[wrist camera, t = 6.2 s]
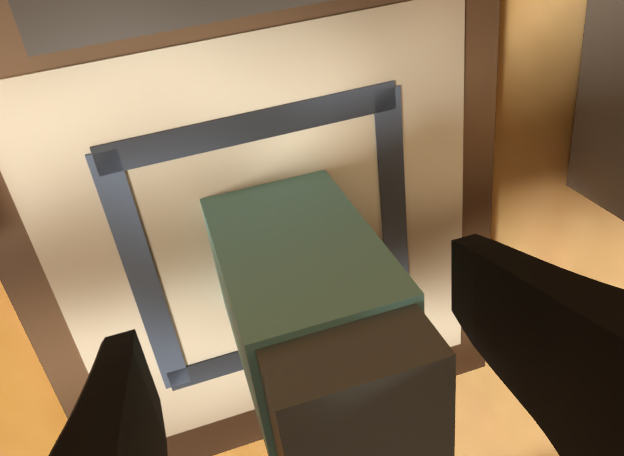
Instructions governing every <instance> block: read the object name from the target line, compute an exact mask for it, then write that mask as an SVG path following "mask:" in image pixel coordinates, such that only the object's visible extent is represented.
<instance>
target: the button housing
mask: <svg viewBox="0 0 624 456" xmlns="http://www.w3.org/2000/svg"><path fill="white" fill-rule="evenodd" d="M567 186H569V187H570V188H572V189H574V190H575V191H577V192H578V193H580V194H582V195H583V196H585V197H586V198H588V199H590V200H591V201H593V202H594V203H596V204H598V205H599V206H601V207H602V208H604V209H606V210H607V211H609V212H610V213H612V214H614V215H615V216H617V217H618V218H620V219H622V220H623V221H624V0H588V1H587V10H586V19H585V28H584V36H583V45H582V54H581V63H580V71H579V80H578V89H577V97H576V106H575V115H574V124H573V132H572V141H571V150H570V159H569V167H568V176H567Z"/></svg>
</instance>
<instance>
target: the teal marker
mask: <svg viewBox="0 0 624 456" xmlns="http://www.w3.org/2000/svg"><path fill="white" fill-rule="evenodd" d="M200 204H201V208H202V212H203V216H204V220H205V225H206V229H207V233H208V237H209V241H210V246H211V250H212V254H213V258H214V262H215V266H216V271H217V275H218V279H219V283H220V287H221V292H222V296H223V300H224V304H225V307H226V311H227V314H228V318H229V321H230V325H231V328H232V332H233V335H234V339H235V342H236V345H237V349H238V352H239V356H240V359H241V363H242V366H243V370H244V373H245V377H246V380H247V383H248V387H249V390H250V394H251V397H252V401H253V404H254V408H255V411H256V415H257V418H258V421H259V425H260V428H261V432H262V435H263V439H264V442H265V446H266V449H267V453H268V456H454V446H455V391H456V354H455V353H454V351H453V350H452V349H451V347H450V346H449V345H448V344H447V342H446V341H445V340H444V338H443V337H442V336H441V334H440V333H439V332H438V330H437V329H436V328H435V326H434V325H433V324H432V323H431V321H430V320H429V319H428V317H427V316H426V315H425V308H424V293H423V292H422V290H421V289H420V288H419V287H418V285H417V284H416V283H415V282H414V280H413V279H412V278H411V277H410V275H409V274H408V273H407V272H406V270H405V269H404V268H403V267H402V265H401V264H400V263H399V262H398V260H397V259H396V258H395V257H394V255H393V254H392V253H391V252H390V250H389V249H388V248H387V247H386V245H385V244H384V243H383V242H382V240H381V239H380V238H379V237H378V235H377V234H376V233H375V232H374V230H373V229H372V228H371V227H370V225H369V224H368V223H367V222H366V220H365V219H364V218H363V217H362V215H361V214H360V213H359V212H358V210H357V209H356V208H355V207H354V205H353V204H352V203H351V202H350V200H349V199H348V198H347V197H346V195H345V194H344V193H343V192H342V190H341V189H340V188H339V187H338V185H337V184H336V183H335V182H334V180H333V179H332V178H331V177H330V175H329V174H328V173H327V172H326V170H321V171H316V172H312V173H308V174H304V175H299V176H295V177H291V178H287V179H282V180H278V181H274V182H270V183H265V184H261V185H257V186H253V187H248V188H244V189H240V190H236V191H231V192H227V193H223V194H219V195H214V196H210V197H206V198H202V199H200Z"/></svg>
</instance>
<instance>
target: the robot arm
mask: <svg viewBox="0 0 624 456" xmlns="http://www.w3.org/2000/svg"><path fill="white" fill-rule="evenodd" d="M451 311H452V312H453V314H454V316H455V317H456V319H457V321H458V322H459V324H460V326H461V327H462V329H463V331H464V332H465V334H466V335H467V337H468V338H469V340H470V342H471V343H472V345H473V346H474V347H475V349H476V350H477V351H478V352H479V354H480V355H481V356H482V357H483V358H484V360H485V361H486V362H487V363H488V365H489V366H490V367H491V368H492V369H493V371H494V372H495V373H496V374H497V375H498V377H499V378H500V379H501V380H502V381H503V383H504V384H505V385H506V386H507V387H508V389H509V390H510V391H511V392H512V393H513V395H514V396H515V397H516V398H517V399H518V401H519V402H520V403H521V404H522V405H523V407H524V408H525V409H526V410H527V411H528V413H529V414H530V415H531V416H532V417H533V419H534V420H535V421H536V423H537V424H538V425H539V427H540V428H541V429H542V430H543V432H544V433H545V435H546V436H547V437H548V439H549V440H550V442H551V443H552V445H553V446H554V448H555V449H556V451H557V452H558V454H559V455H560V456H624V289H621V288H618V287H614V286H611V285H608V284H605V283H602V282H599V281H596V280H593V279H591V278H588V277H585V276H582V275H579V274H576V273H574V272H571V271H568V270H566V269H563V268H560V267H558V266H555V265H553V264H550V263H548V262H545V261H543V260H540V259H538V258H535V257H533V256H531V255H528V254H526V253H523V252H521V251H519V250H516V249H514V248H511V247H509V246H507V245H504V244H502V243H499V242H497V241H494V240H492V239H489V238H486V237H484V236H481V235H478V234H472V235H469V236H465V237H461V238H458V239H454V240H451ZM49 456H168V451H167V439H166V432H165V426H164V419H163V413H162V407H161V401H160V397H159V394H158V392H157V389H156V386H155V383H154V381H153V378H152V375H151V372H150V369H149V367H148V364H147V361H146V358H145V355H144V353H143V350H142V347H141V344H140V342H139V339H138V336H137V333H136V330H135V329H133V330H129V331H126V332H122V333H119V334H115V335H112V336H108V337H105V338H104V340H103V341H102V343H101V345H100V348H99V350H98V353H97V355H96V358H95V361H94V363H93V366H92V368H91V370H90V373H89V375H88V378H87V380H86V382H85V385H84V387H83V389H82V391H81V393H80V395H79V398H78V400H77V402H76V404H75V406H74V408H73V410H72V412H71V414H70V417H69V419H68V421H67V422H66V424H65V426H64V428H63V430H62V432H61V434H60V435H59V437H58V439H57V441H56V443H55V445H54V446H53V448H52V450H51V452H50V454H49Z"/></svg>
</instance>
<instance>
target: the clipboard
mask: <svg viewBox="0 0 624 456" xmlns="http://www.w3.org/2000/svg"><path fill="white" fill-rule="evenodd" d="M499 16H500V0H0V281H1V283H2V285H3V287H4V289H5V291H6V293H7V295H8V297H9V299H10V301H11V303H12V305H13V307H14V309H15V311H16V313H17V316H18V318H19V320H20V322H21V324H22V326H23V328H24V330H25V332H26V334H27V336H28V338H29V340H30V342H31V344H32V346H33V348H34V350H35V353H36V355H37V357H38V359H39V361H40V363H41V365H42V367H43V369H44V371H45V373H46V375H47V377H48V379H49V381H50V383H51V385H52V387H53V389H54V392H55V394H56V396H57V398H58V400H59V402H60V404H61V406H62V408H63V410H64V412H65V414H66V416H67V418H68V419H69V417H70V414H71V412H72V410H73V408H74V406H75V404H76V402H77V400H78V398H79V395H80V393H81V391H82V389H83V387H84V385H85V382H86V380H87V378H88V375H89V373H90V370H91V368H92V366H93V363H94V361H95V358H96V355H97V353H98V350H99V348H100V345H101V343H102V341H103V340H104V338H105V337H108V336H112V335H115V334H119V333H122V332H126V331H129V330H133V329H135V330H136V333H137V336H138V339H139V342H140V344H141V347H142V350H143V353H144V355H145V358H146V361H147V364H148V367H149V369H150V372H151V375H152V378H153V381H154V383H155V386H156V389H157V392H158V394H159V397H160V401H161V407H162V413H163V419H164V426H165V432H166V439H167V451H168V456H213V455H216V454H219V453H222V452H225V451H228V450H231V449H234V448H237V447H240V446H243V445H246V444H249V443H252V442H255V441H258V440H261V439H263V435H262V432H261V428H260V425H259V421H258V418H257V415H256V411H255V408H254V404H253V401H252V397H251V394H250V390H249V387H248V383H247V380H246V377H245V373H244V370H243V366H242V363H241V359H240V356H239V352H238V349H237V345H236V342H235V339H234V335H233V332H232V328H231V325H230V321H229V318H228V314H227V311H226V307H225V304H224V300H223V296H222V292H221V287H220V283H219V279H218V275H217V271H216V266H215V262H214V258H213V254H212V250H211V246H210V241H209V237H208V233H207V229H206V225H205V220H204V216H203V212H202V208H201V204H200V199H202V198H206V197H210V196H214V195H219V194H223V193H227V192H231V191H236V190H240V189H244V188H248V187H253V186H257V185H261V184H265V183H270V182H274V181H278V180H282V179H287V178H291V177H295V176H299V175H304V174H308V173H312V172H316V171H321V170H326V172H327V173H328V174H329V175H330V177H331V178H332V179H333V180H334V182H335V183H336V184H337V185H338V187H339V188H340V189H341V190H342V192H343V193H344V194H345V195H346V197H347V198H348V199H349V200H350V202H351V203H352V204H353V205H354V207H355V208H356V209H357V210H358V212H359V213H360V214H361V215H362V217H363V218H364V219H365V220H366V222H367V223H368V224H369V225H370V227H371V228H372V229H373V230H374V232H375V233H376V234H377V235H378V237H379V238H380V239H381V240H382V242H383V243H384V244H385V245H386V247H387V248H388V249H389V250H390V252H391V253H392V254H393V255H394V257H395V258H396V259H397V260H398V262H399V263H400V264H401V265H402V267H403V268H404V269H405V270H406V272H407V273H408V274H409V275H410V277H411V278H412V279H413V280H414V282H415V283H416V284H417V285H418V287H419V288H420V289H421V290H422V292H423V293H424V308H425V315H426V316H427V317H428V319H429V320H430V321H431V323H432V324H433V325H434V326H435V328H436V329H437V330H438V332H439V333H440V334H441V336H442V337H443V338H444V340H445V341H446V342H447V344H448V345H449V346H450V347H451V349H452V350H453V351H454V353H455V354H456V375H459V374H462V373H465V372H468V371H472V370H475V369H478V368H481V367H484V366H485V360H484V358H483V357H482V356H481V355H480V354H479V352H478V351H477V350H476V349H475V347H474V346H473V345H472V343H471V342H470V340H469V338H468V337H467V335H466V334H465V332H464V331H463V329H462V327H461V326H460V324H459V322H458V321H457V319H456V317H455V316H454V314H453V312H452V311H451V240H454V239H458V238H461V237H465V236H469V235H472V234H478V235H481V236H484V237H486V238H489V239H490V232H491V208H492V184H493V160H494V136H495V112H496V88H497V64H498V40H499Z"/></svg>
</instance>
